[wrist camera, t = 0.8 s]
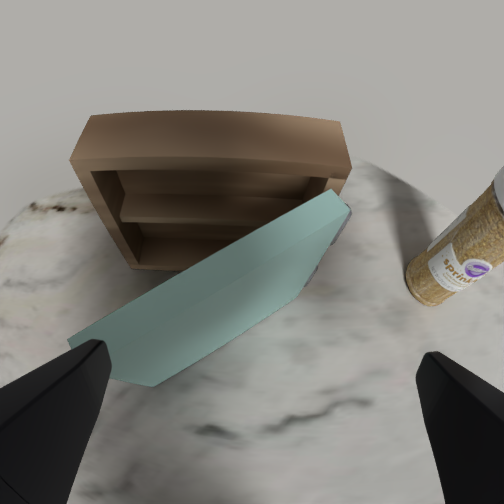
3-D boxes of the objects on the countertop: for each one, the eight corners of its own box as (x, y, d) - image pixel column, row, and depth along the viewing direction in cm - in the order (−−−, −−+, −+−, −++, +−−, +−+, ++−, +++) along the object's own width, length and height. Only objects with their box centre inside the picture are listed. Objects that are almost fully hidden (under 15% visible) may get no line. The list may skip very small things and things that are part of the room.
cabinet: (296, 275, 23) (351, 168, 12) (131, 268, 22) (69, 160, 12) (294, 239, 24) (339, 121, 14) (137, 232, 23) (90, 115, 13)
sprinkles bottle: (407, 307, 22) (531, 215, 10) (400, 254, 24) (499, 144, 12) (450, 308, 22) (568, 229, 10) (442, 259, 24) (541, 165, 12)
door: (308, 289, 22) (367, 198, 12) (153, 387, 18) (81, 370, 9) (298, 275, 22) (349, 178, 13) (143, 371, 19) (67, 339, 9)
